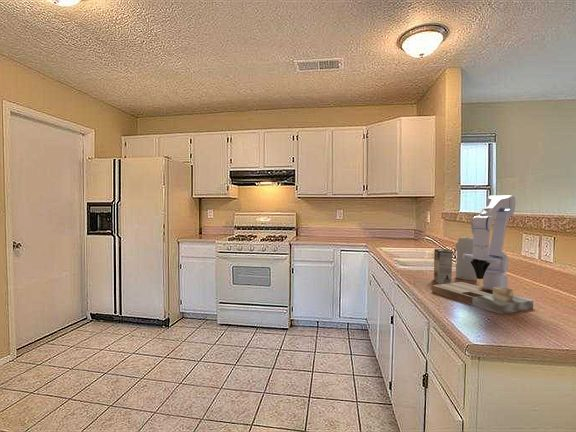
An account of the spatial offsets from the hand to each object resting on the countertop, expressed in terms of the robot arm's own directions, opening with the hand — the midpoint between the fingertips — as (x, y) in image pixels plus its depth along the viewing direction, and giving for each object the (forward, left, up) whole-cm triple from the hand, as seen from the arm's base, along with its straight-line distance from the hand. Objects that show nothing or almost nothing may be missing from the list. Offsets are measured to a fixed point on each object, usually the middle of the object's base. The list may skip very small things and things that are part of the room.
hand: (479, 278), depth 127 cm
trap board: (+1, 0, -9) cm, 9 cm away
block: (+1, +10, -6) cm, 11 cm away
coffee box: (-10, -27, -9) cm, 30 cm away
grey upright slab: (-27, -27, -9) cm, 39 cm away
